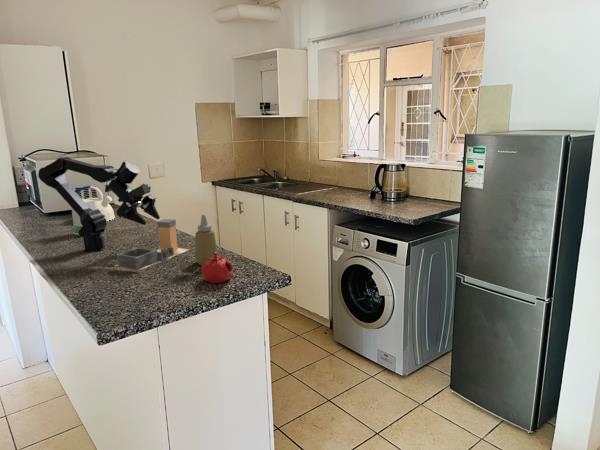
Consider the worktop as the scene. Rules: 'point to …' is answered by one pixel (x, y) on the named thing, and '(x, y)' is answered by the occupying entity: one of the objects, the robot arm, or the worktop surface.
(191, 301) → the worktop surface
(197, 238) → the squeeze bottle
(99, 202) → the kettle
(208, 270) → the pomegranate
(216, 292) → the worktop surface
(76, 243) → the worktop surface
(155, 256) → the board
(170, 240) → the plug
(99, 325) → the worktop surface
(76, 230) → the skincare box
